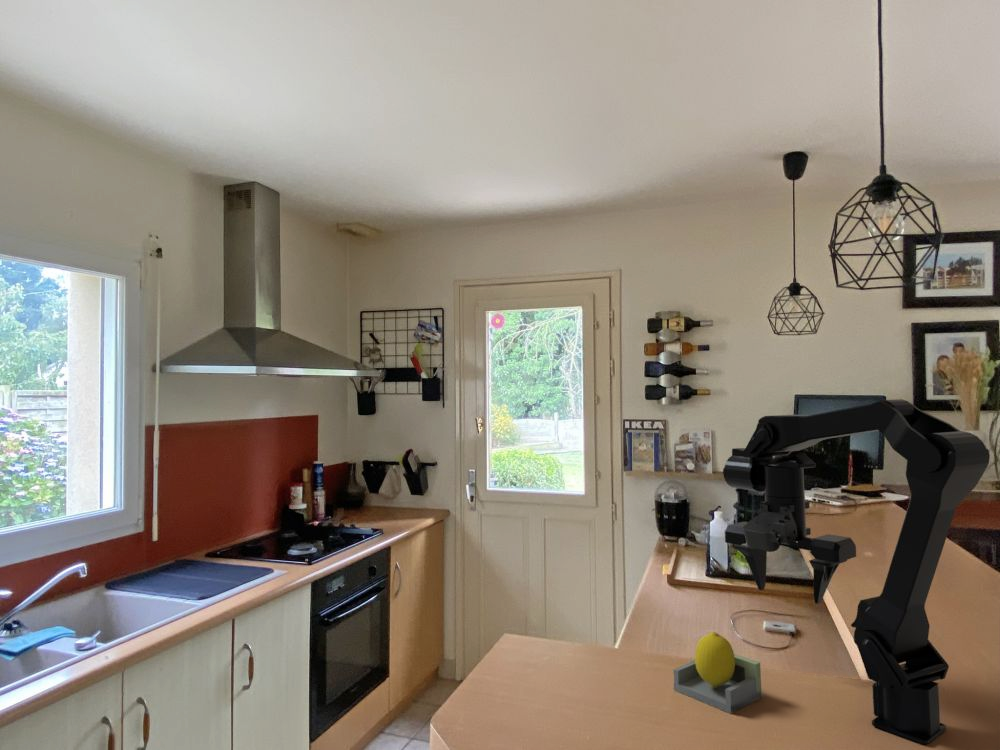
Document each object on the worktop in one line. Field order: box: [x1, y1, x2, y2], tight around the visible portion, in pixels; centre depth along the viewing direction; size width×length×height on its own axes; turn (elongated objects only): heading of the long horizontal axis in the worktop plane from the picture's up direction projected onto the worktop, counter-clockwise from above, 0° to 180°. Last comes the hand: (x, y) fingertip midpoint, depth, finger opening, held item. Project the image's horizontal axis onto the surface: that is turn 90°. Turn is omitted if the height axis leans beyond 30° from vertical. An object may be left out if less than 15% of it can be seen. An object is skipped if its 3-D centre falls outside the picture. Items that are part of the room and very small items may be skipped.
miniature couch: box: [673, 653, 763, 714], centre depth 96 cm, size 10×8×5 cm
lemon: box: [694, 631, 735, 688], centre depth 95 cm, size 6×6×8 cm
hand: (788, 596), depth 102 cm, fingers open, 9 cm apart
